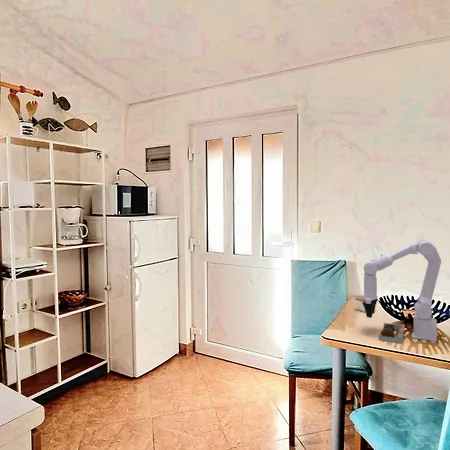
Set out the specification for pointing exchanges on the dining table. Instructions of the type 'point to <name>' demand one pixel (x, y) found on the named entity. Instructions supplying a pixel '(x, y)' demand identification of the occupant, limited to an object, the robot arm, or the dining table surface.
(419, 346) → the dining table surface
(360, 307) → the lidded jar
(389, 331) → the bolt
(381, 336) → the hub cradle
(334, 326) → the dining table surface
